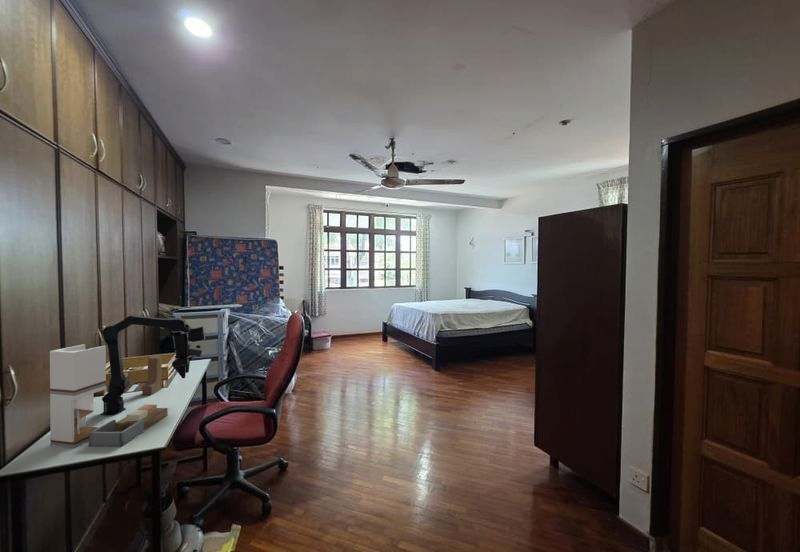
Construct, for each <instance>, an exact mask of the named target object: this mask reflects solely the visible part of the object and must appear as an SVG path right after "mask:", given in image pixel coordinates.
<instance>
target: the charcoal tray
mask: <svg viewBox="0 0 800 552" xmlns="http://www.w3.org/2000/svg"><path fill="white" fill-rule="evenodd" d="M116 422H117V420H116V419H112V420H110V421H108V422H106V423H104V424H103V425H101V426H99V428H97V429H95V430H93V431H92V432H90V433H89V442H88V447H112V448H113V447H114V448H117V447H118V448H119V447H123V446H125V445H127V444H128V443H129V442H131V441H132V440H134V439H136V438H137V437H139V436H140V435H142V434H143V433H144V432H145V431H144V420H140V421H138V422H137V423H135V424H133V425H132V426H130V427H129V428H127V429H125V430H124V431H116ZM138 435H139V436H138ZM135 437H136V438H135Z"/></svg>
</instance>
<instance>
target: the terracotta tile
mask: <svg viewBox="0 0 800 552" xmlns="http://www.w3.org/2000/svg"><path fill="white" fill-rule="evenodd" d="M157 408H158V407H157V404H143V405H142V406H140V407H138V408H137V409H136V410H148V415H150V414H151V413H153V412H155V411H156V410H157Z"/></svg>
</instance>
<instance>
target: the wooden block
mask: <svg viewBox="0 0 800 552" xmlns="http://www.w3.org/2000/svg"><path fill="white" fill-rule="evenodd" d="M141 388H142V389H141V390H142V393H141V394H142V396H152V395H153V394H155V393H157V392H159V391H161V390H162V356H160V355H158V356H157V355H155V356H154V355H153V356H151V357H148V358H147V381H146V383H144V385H143V386H142V387H141Z"/></svg>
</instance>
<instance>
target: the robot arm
mask: <svg viewBox="0 0 800 552" xmlns="http://www.w3.org/2000/svg"><path fill="white" fill-rule="evenodd" d="M132 325H135V326H143V327H144V326H147V327H157V328H158V327H159V328H163V329H166V330H170V333H169V334H168V335H167V337H168V338H170V337H172V339H173V345H174V347H173V350H174V354H175V356H174V360H173V361H172V362H171V366H172V368H173V369H175V371H176V372H177V373H178V375H179V376H180V377H181V379H185V378H186V374H188V373H189V372H190V364H191V361H192V360H193V358H194V356H195V357H199V358H200V357H202V354H203V349H204V348H203V347H202V346H201V345H200V344H196V346H191V344H190V343H189V342H191V343H196V342H201V341H202V342H203V341H206V332H205V329H204V326H199V327H193V328H192V327H191V326H190V325H189V324H187V321H186V319H185V318H183V317H169V318H161V317H154V316H153V317H151V316H143V315H141V316H140V315H136V314H135V315H134V314H131V315H129V316H127V317H125V318H124V319H122V320H120V321H119V322H117V323H114V324H111V325H108V326H106V327H104V328H103V329H102V332H101V334H102V337H103V341H104V342H105V344H106V345H107V351H108V361H109V369H110V380H109V384H108V392H107V393H106V394H105V395H104V396H103V397H101V401H102V402H103V412H101V413H100V415H101V416H102V415H103V416H104V415H105V416H109V415H110V416H115V415H117V414H119V413H121V412H123V411H125V410H127V409H126V407H125V400H124V397H123V394H124V393H125V392H126V391H127V390H128V389H129V386H131V381H130V376H129V375H128V376H126V375H125V374H124V366H123V357H122V348H121V346H122V345H121V342H122V338H123V333H124V330H126V329H127V328H129V327H130V326H132Z"/></svg>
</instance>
